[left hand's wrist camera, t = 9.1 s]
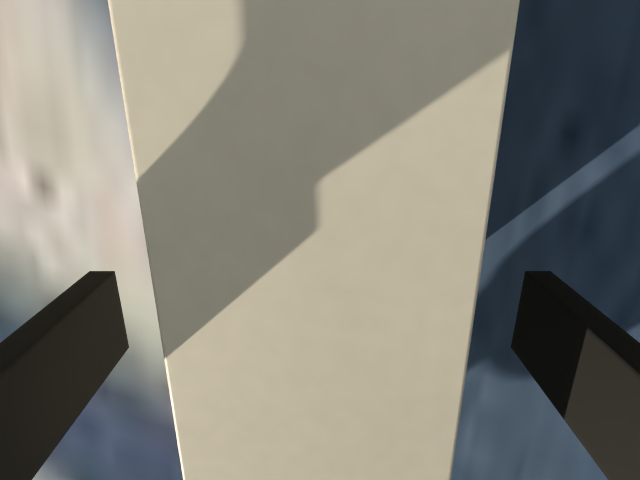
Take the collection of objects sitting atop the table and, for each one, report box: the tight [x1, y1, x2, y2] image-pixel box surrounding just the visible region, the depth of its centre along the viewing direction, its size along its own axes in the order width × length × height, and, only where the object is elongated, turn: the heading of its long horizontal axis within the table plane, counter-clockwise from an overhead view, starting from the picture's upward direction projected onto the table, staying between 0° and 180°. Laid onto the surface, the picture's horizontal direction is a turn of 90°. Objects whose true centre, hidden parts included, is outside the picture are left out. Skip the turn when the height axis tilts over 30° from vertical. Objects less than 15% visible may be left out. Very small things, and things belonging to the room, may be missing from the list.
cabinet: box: [108, 0, 520, 480], centre depth 13 cm, size 16×6×11 cm, turn 0°
